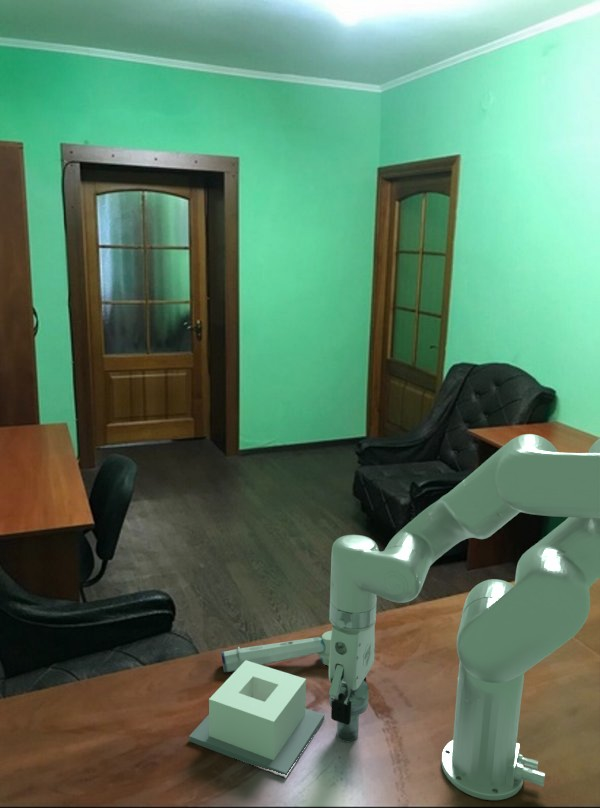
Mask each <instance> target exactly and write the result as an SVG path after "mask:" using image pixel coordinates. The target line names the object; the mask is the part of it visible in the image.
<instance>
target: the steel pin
mask: <svg viewBox="0 0 600 808" xmlns="http://www.w3.org/2000/svg"><path fill="white" fill-rule="evenodd" d="M342 681H344V682H345V679H344V678H343V680H342ZM331 684H332V683H331V682H330V687H331ZM330 687H329V688H330ZM369 688H370V687H369V685H368V683H367V681H366V682H365V681H364V680H363V682H362V683H361V685H360V686H359V687H358V688H357V689H356V690H352V689H351V693H350V699H349V701H350V702H351V721H350V723H349V725H347V724H344V723H341V722H338V721H336V722H337V724H336V725H337V726H336V735H338V736H337V737H338V738H339V739H340V740H341V741H343V740H344V741H343V742H347V741H348V742H349V741H350V742H354V741H356V740H357V738H358V737H359V727H360V726H359V725H360V724H359V722H360V715H362V714H363V713H364V712H366V711H367V709H368V708H369V693H370V692H369V691H370V690H369ZM345 692H346V688H345V687H342V686H341V687H340V693H342V694H344V695H345ZM329 705H330V707H331V708H332V700H331V697H330V696H329Z"/></svg>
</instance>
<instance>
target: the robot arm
mask: <svg viewBox="0 0 600 808" xmlns="http://www.w3.org/2000/svg"><path fill="white" fill-rule="evenodd" d="M520 513H524V514H529V515H536V516H544V517H545V516H546V517H559V518H560V517H562V518H566V519H565V520H564V521H563V522H561V523H560V524H559V525H557V527H555V528H554V529H552V530H551V531H550V532H549V533H548V534H547V535H546V536H544V537H542V539H540V540H538V542H537V543H535V544H534V545H532V546H531V547H530V548H529V549H527V550H525V552H524V553H522V555H521V557H520V558H519V560H518V562H517V565H516V569H515V578H514V585H513V584H512V583H511V582H508V581H506V580H503V579H497V578H496V579H495V578H494V579H493V578H491V579H487V580H484V581H482V582H480V583H478V584H476V585H475V586H474V587H473V588H472V589H471V590H470V591H469V593H468V594H467V596H466V599H465V602H464V604H463V608H462V612H461V615H460V623H459V627H458V631H457V636H456V651H457V656H458V659H459V665H458V666H459V667H458V677H457V685H456V686H457V687H456V688H457V689H456V700H455V711H454V721H453V723H454V725H453V738H452V740H451V741H449V742H448V743H447V744H445V746H444V748H443V750H442V753H441V760H440V761H441V762H440V763H441V767H442V771H443V773H444V775H445V777H446V778H447V779H448V780H449V781H450V782H451V784H452V785H453V786H454V787H456V788H457V789H458V790H460V791H461V792H463V793H465V794H467V795H470V796H472V797H474V798H477V799H480V800H484V801H485V800H486V801H487V800H488V801H501V800H506V799H510V798H512V797H513V796H515V795H517V794H518V792H519V791H520V790H521V789H522V788H523V784H524V781H526V782H529V783H531V784H534V785H537V786H539V787H544V785H545V776H546V773H545V772H543V771H541V770H538V768H539V767H538V766H539V761H538V760H535V759H532V758H527V757H524V756H523V755H524V754H521V753H520V748H521V747H520V743H518V734H519V723H520V715H521V707H522V706H521V704H522V703H521V702H522V695H523V687H524V677H525V673H526V672H527V671H529V670H530V669H531V668H533V667H534V666H536V665H537V664H538V663H541V661H543V660H544V659H546V658H547V657H548V656H550V655H551V654H553V653H554V652H555V651H556V650H558V649H559V648H561V647H562V646H564V645H565V644H566V643H567V642H569V641H570V640H571V639H572V638H574V637H575V636H576V635H577V634H578V632H580V630H581V629H582V628H583V626H584V625H585V623H586V621H587V619H588V616H589V613H590V609H591V595H590V588H591V587H592V586H593V584H594V583H595V582H597V581H598V580H599V579H600V437H599V438H598V439H597V440H596V441H595V442H594V443H593V444H592V445H591V446H590V448H589V450H588V452H580V453H579V452H577V453H576V452H559V451H558V450H557V448H556V447H555V446H554V444H552V442H551V441H549V440H548V439H546V437H543V436H540V435H537V434H532V433H526V434H521V435H518V436H515V437H514V438H511V439H510V441H508V442H507V443H505V444H504V445H503V446H502V447H500V448H499V449H498V450H497V451H496V452H495V453H493V454H492V455H491V456H490V457H488V459H486V460H485V461H484V462H483V463H481V465H480V466H478V467H477V468H476V469H475V470H473V472H471V473H470V474H468V476H467V477H466V478H464V479H463V480H462V481H461V482H459V483H458V484H457V485H455V487H453V489H451V490H450V491H449V492H448V493H447V492H446V494H444V495H442V496H441V497H440V498H439V499H437V500H436V501H435V502H433V503H432V504H430V505H429V506H428V507H426V508H425V509H424V510H422V511H421V512H420V513H418V514H417V516H415V517H414V518H413V519H411V521H409V522H408V523H407V524H406V525H405V526H404V527H402V529H400V530H399V531H398V532H397V533H396V534H395V535H394V536H393V537H392V538H391V539H390V540H389V542H388V544H387V546H386V547H385V549H384V550H383V551H380V550H379V546H378V544H377V543H376V542H375V540H373V539H372V538H370V537H369V536H365V535H360V534H346V535H343V536H340V537H338V538H337V539H336V540H335V541H334V542H333V544H332V546H331V557H330V559H331V560H330V561H331V563H330V589H329V590H330V592H329V594H330V595H329V596H330V597H329V618H328V619H329V622H330V624H332V628H331V631H332V635H331V643H330V654H329V666H328V680H329V682H330V685H331V687H329V692H328V696H329V698H330V697H331V700H332V707H331V712H330V713H331V714H330V719H332V721H335V722H337V721H338V722H341V723H344V724H347V725H349V723H350V721H351V702H350V701H349V699H350V693H351V689H352V690H356V689H357V688H358V687H359V686H360V685H361V683H362V682H363V680H364V681H365V682H366V683H367V675H368V674H369V672H370V670H371V668H372V666H373V665H374V662H375V657H376V656H375V655H376V653H375V652H376V650H375V649H376V648H375V647H376V645H375V644H376V636H375V635H376V633H375V632H376V631H375V630H376V629H375V628H376V627H375V625H376V622H377V621H376V618H377V600H378V597H380V598H381V599H382V598H383V599H385V600H388V601H390V602H393V603H399V604H401V603H402V604H403V603H408V602H409V603H410V602H411V601H413V600H415V599H416V598H417V597H418V596H419V594H420V593H421V591H422V589H423V585H424V583H425V581H426V578H427V575H428V572H429V570H430V567H431V566H432V565H433V564H434V563H435V562H436V561H437V560H438V559H439V558H441V557H442V556H443V555H444V554H446V553H447V552H449V550H451V549H452V548H453V547H455V546H456V545H458V544H459V543H460V542H462V541H465V540H466V539H470V538H471V539H472V538H474V539H479V540H484V539H488V538H489V537H492V535H493V534H495V533H496V532H497V531H498V530H500V529H502V527H503V526H505V525H506V524H507V523H508V522H509V521H512V519H513V518H514V517H516V516H517V515H518V514H520ZM377 596H378V597H377ZM343 678H344V679H345V682H344V681H342V680H343ZM331 683H332V684H331ZM341 686H342V687H345V688H346V692H345V695H344V694H342V693H340V687H341Z"/></svg>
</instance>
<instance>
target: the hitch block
mask: <svg viewBox="0 0 600 808" xmlns="http://www.w3.org/2000/svg"><path fill="white" fill-rule="evenodd" d="M306 692H307V678H304V677H301V676H298V675H294V674H291V673H289V672H286V671H282V670H280V669H279V670H278V669H275V668H273V667H269V666H265V665H260V664H256V663H253V662H250V661H247V660H245V661H244V662H243V663H242V665H241V666H240V667H239V668H238V669H237V670H236V671H233V673H232V674H231V675H230V676H229V677H227V679H226V680H225V682H224V683H223V684H222V685H221V686H220V687H219V688H218V689H217V690H216V691H215V692H214V693H213V694H212V695H211V697H209V698H208V708H209V709H208V712H209V713H208V715H207V716H205V718H204V719H203V720H202V721H201V723H200V724H199V725H198V726H197V727H196V728H195V729H194V730H193V731H192V733H190V735H188V741H189V742H190V743H193V744H195V745H198V746H200V747H202V748H203V747H204V748H206V749H208V750H211V751H214V752H217V753H219V754H221V755H224V756H227V757H229V758H232V759H234V758H235V759H234V760H236V759H237V761H239V760H241V761H240V762H242V761H244V762H246V763H245V764H247V763H249V764H251V765H250V766H252V765H255V766H259V767H262V768H265V769H269V770H273V771H276V772H278V773H281V774H285V775H287V773H288V772H289V770H290V769H291V767H292V766H293V764H294V763H295V762H296V760H297V759H298V757H299V756H300V754H301V753H302V751H303V750H304V748H305V747H306V745H307V744H308V743H309V744H310V742H311V741H312V739H313V738H314V736H315V735H316V733H317V732H316V731H318V730H319V728H320V727H321V725H322V724H323V722H324V721H323V720H325V714H324V713H321V712H317V711H315V710H311V709H309V708H306V706H307V705H306V700H307V699H306V696H307V695H306V694H307V693H306ZM321 723H322V724H321ZM319 726H320V727H319ZM317 729H318V730H317ZM315 732H316V733H315ZM314 734H315V735H314ZM313 735H314V736H313ZM312 737H313V738H312ZM311 738H312V739H311ZM310 740H311V741H310ZM309 741H310V742H309ZM309 744H308V745H309ZM308 745H307V746H308ZM306 748H307V747H306ZM304 751H305V750H304ZM302 754H303V753H302ZM300 757H301V756H300ZM298 760H299V759H298ZM244 762H243V763H244ZM249 764H248V765H249ZM255 766H254V767H255Z"/></svg>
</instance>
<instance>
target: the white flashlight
mask: <svg viewBox="0 0 600 808" xmlns="http://www.w3.org/2000/svg"><path fill="white" fill-rule="evenodd" d="M331 635H332V630H328V631H325V632H324V633H323V634H322V635H321V636H316V637H315V636H314V637H311V638H310V637H309V638H302V639H295V640H288V641H283V642H275V643H268V644H262V645H254V646H248V647H247V646H246V647H241V648H240V646H237V648H235V649H231V650H225V651H221V652H220V653H221V661H222V667H223V672H224V674H226V673H231V672H233V673H234V672H235V671H236V670H237V669H238V668H239V667H240V666H241V665H242V663H243V662H244V661H245V660H247V661H250V662H253V663H256V664H260V665H263V666H265V665H269V664H274V663H278V662H279V663H280V662H284V661H289V660H293V659H297V658H302V657H307V656H310V655H316V654H317V656H318V657H319V660H321V661H320V663H321V662H322V663H323V664H325V665H327V666H328V667H329V654H330V643H331ZM322 663H321V664H322ZM323 664H322V665H323ZM325 665H324V666H325Z"/></svg>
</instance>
